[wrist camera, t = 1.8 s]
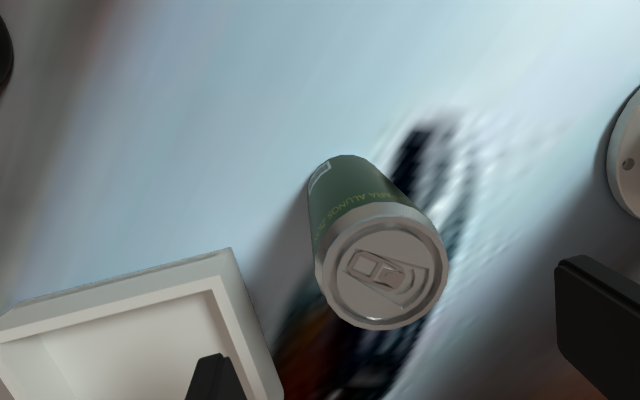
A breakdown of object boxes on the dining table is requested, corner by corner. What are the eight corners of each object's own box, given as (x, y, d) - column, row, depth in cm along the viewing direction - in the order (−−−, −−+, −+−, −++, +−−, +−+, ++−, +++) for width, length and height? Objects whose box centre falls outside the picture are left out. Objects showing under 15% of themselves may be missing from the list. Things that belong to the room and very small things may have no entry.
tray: (231, 247, 25) (219, 274, 22) (283, 391, 30) (282, 435, 26) (21, 301, 26) (-27, 338, 22) (103, 437, 30) (75, 487, 26)
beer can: (293, 206, 25) (291, 306, 13) (328, 138, 24) (359, 185, 12) (358, 237, 26) (408, 353, 15) (395, 173, 25) (482, 246, 13)
